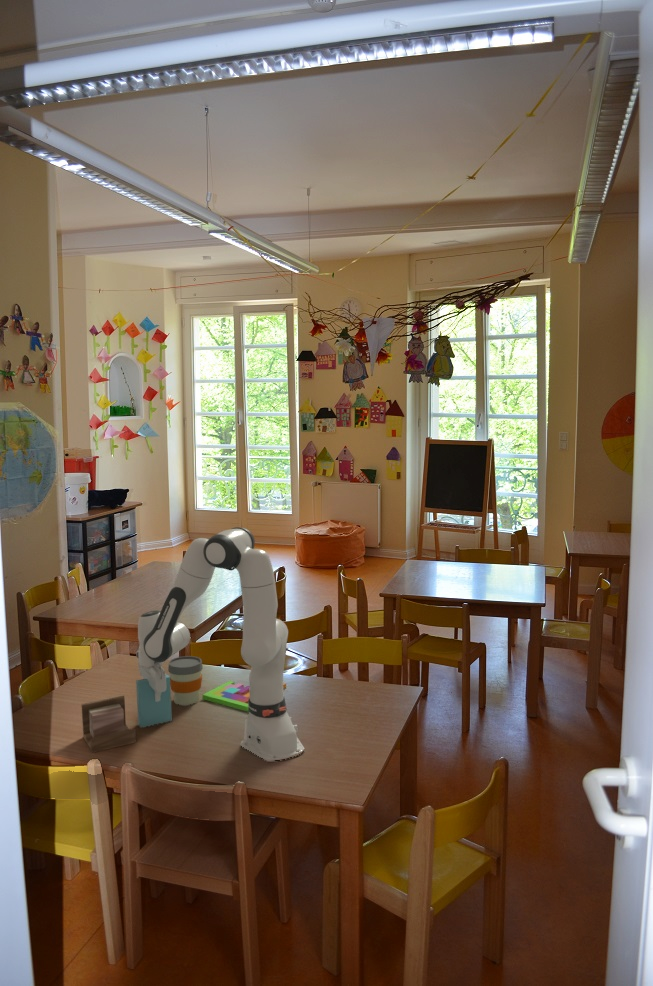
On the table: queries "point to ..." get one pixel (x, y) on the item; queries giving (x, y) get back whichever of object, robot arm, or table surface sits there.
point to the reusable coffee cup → (185, 679)
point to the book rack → (106, 724)
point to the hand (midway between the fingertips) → (153, 695)
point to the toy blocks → (231, 695)
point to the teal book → (152, 704)
